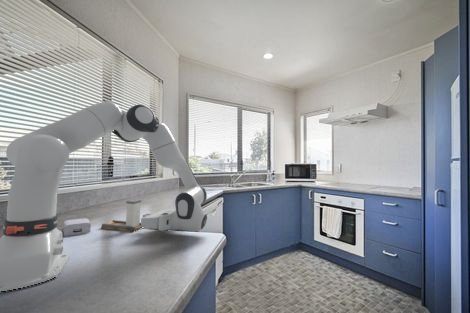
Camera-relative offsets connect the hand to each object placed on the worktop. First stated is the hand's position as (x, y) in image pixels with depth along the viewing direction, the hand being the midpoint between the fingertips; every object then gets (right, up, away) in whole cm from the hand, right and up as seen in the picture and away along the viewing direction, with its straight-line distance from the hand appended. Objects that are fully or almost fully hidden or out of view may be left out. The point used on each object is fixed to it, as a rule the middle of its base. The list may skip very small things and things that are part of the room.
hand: (144, 216), depth 104 cm
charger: (-30, -6, -3) cm, 30 cm away
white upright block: (-6, -5, +1) cm, 8 cm away
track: (-11, -6, +2) cm, 13 cm away
